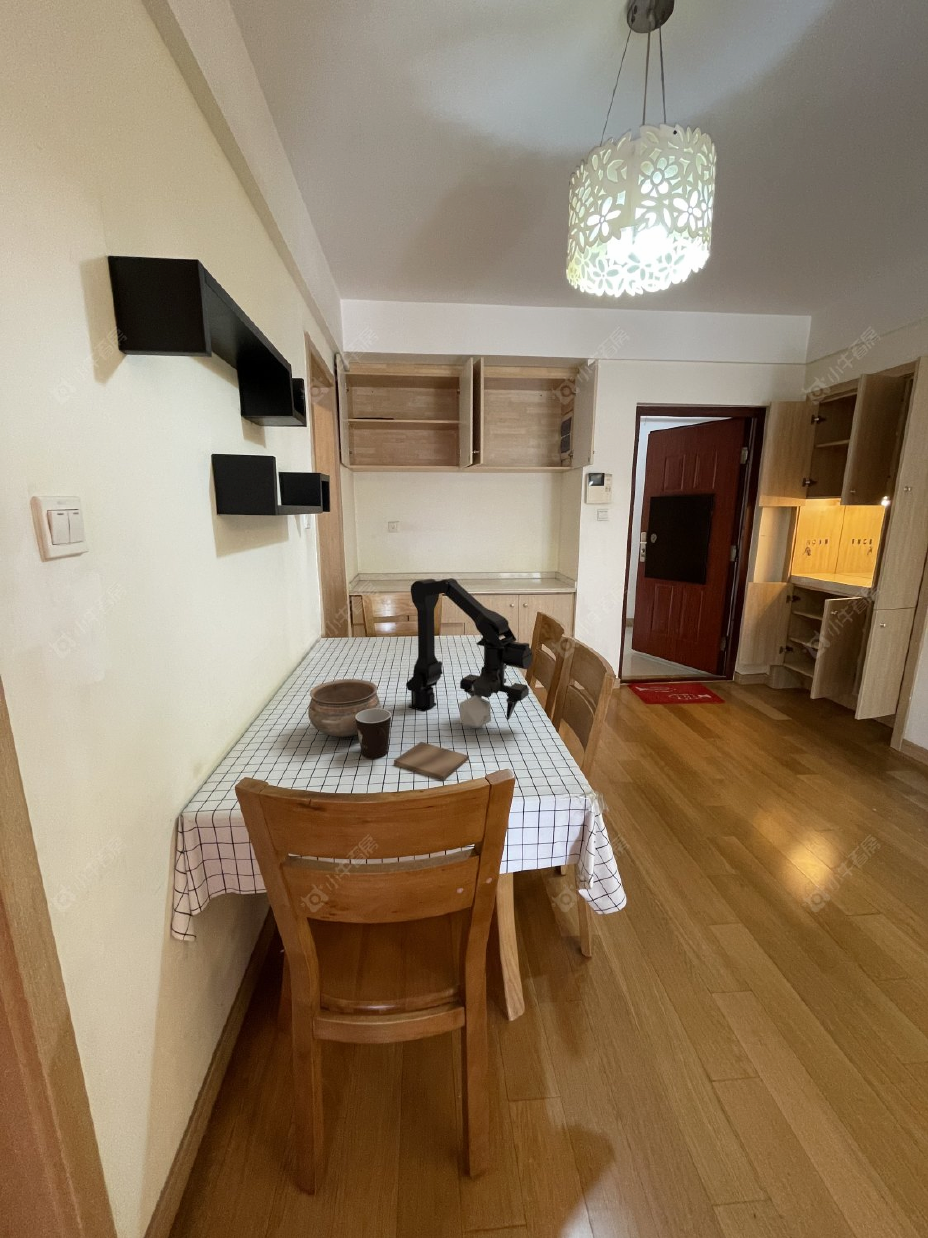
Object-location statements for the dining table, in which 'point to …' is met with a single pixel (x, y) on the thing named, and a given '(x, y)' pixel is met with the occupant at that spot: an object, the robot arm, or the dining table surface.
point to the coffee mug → (373, 732)
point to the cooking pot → (341, 705)
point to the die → (475, 712)
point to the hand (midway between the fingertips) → (493, 715)
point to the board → (431, 761)
